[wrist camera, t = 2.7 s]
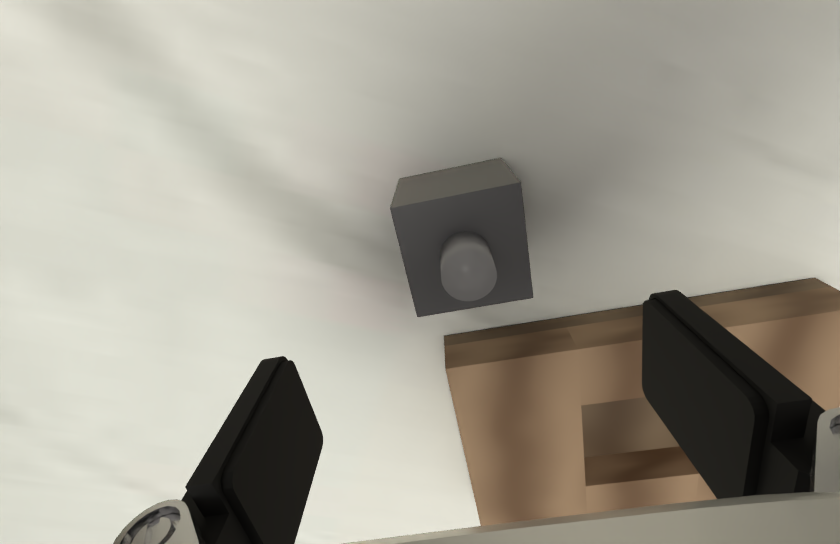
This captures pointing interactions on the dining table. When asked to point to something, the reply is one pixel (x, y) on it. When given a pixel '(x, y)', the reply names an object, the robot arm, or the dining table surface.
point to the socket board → (611, 401)
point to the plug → (463, 237)
